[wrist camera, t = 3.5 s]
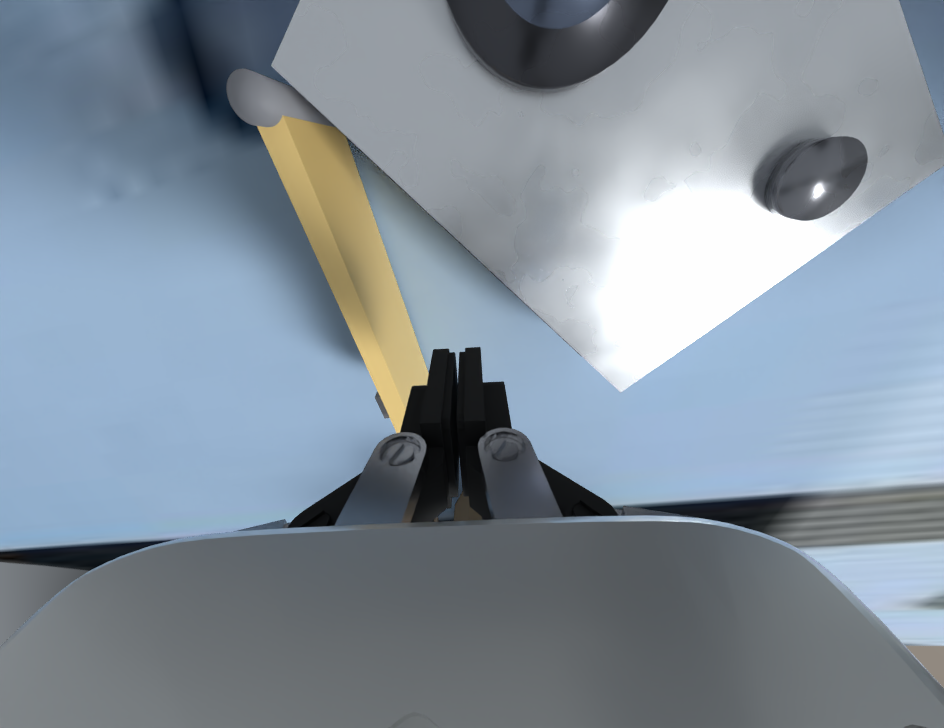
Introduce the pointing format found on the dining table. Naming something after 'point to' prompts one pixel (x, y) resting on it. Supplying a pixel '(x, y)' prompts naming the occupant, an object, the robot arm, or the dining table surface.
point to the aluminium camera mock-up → (628, 143)
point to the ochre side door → (337, 230)
